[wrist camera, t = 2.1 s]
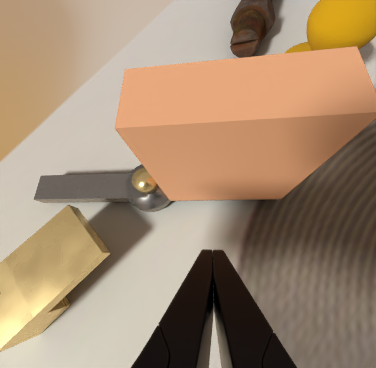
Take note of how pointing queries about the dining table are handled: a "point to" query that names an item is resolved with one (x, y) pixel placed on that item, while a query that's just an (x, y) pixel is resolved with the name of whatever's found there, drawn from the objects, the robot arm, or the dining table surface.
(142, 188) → the pintle
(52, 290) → the keeper
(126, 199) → the peach block with bar
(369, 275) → the dining table surface
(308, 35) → the doorknob
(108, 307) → the dining table surface
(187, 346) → the robot arm
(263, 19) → the bolt
